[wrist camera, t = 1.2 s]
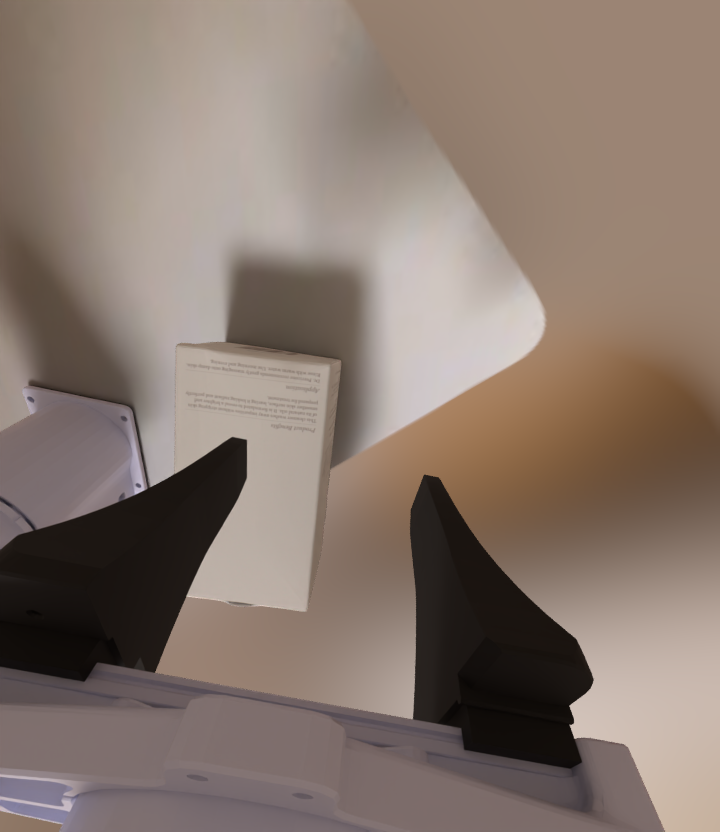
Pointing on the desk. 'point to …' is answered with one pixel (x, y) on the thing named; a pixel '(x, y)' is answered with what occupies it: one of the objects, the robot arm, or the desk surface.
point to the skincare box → (261, 465)
